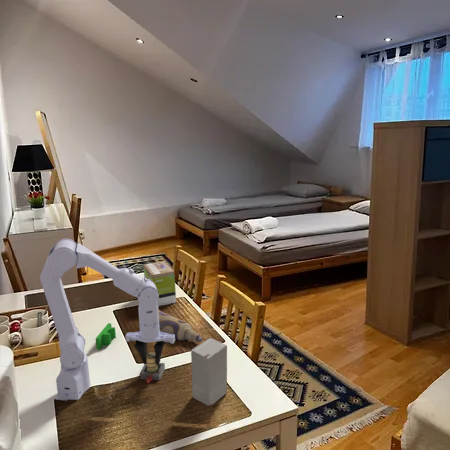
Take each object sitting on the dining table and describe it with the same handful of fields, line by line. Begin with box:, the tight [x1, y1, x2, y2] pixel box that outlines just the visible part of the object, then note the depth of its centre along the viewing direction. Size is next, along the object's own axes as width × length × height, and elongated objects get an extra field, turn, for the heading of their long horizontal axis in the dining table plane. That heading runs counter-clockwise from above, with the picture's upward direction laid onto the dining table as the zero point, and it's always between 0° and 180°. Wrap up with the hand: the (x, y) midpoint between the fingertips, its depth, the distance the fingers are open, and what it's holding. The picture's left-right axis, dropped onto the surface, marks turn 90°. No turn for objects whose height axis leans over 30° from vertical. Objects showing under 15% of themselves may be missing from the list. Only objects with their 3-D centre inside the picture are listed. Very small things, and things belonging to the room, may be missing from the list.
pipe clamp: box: [95, 323, 117, 351], centre depth 148 cm, size 11×4×5 cm, turn 173°
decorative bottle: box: [158, 309, 204, 343], centre depth 151 cm, size 26×8×7 cm, turn 47°
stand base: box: [139, 362, 166, 384], centre depth 127 cm, size 10×10×3 cm
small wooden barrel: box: [146, 351, 158, 373], centre depth 127 cm, size 3×3×5 cm
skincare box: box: [190, 337, 228, 407], centre depth 115 cm, size 8×7×16 cm
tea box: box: [143, 260, 177, 307], centre depth 182 cm, size 15×10×15 cm, turn 25°
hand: (151, 362), depth 127 cm, fingers closed on small wooden barrel, 3 cm apart
